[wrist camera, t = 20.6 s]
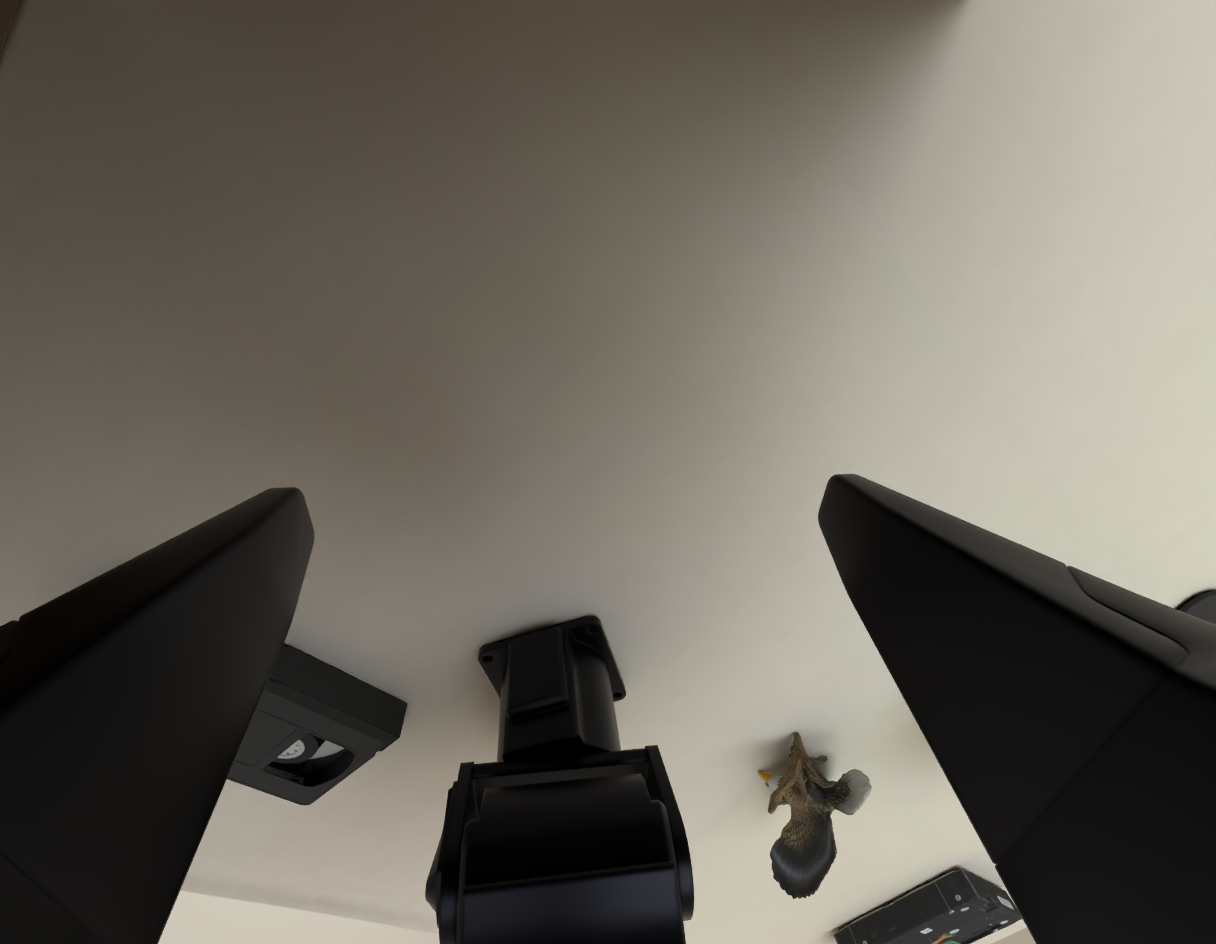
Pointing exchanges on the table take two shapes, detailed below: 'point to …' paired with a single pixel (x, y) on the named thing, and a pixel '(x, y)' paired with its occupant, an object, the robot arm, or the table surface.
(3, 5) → the cupboard door
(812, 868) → the eagle figurine
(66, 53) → the table surface
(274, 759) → the vhs tape
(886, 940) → the disk drive
